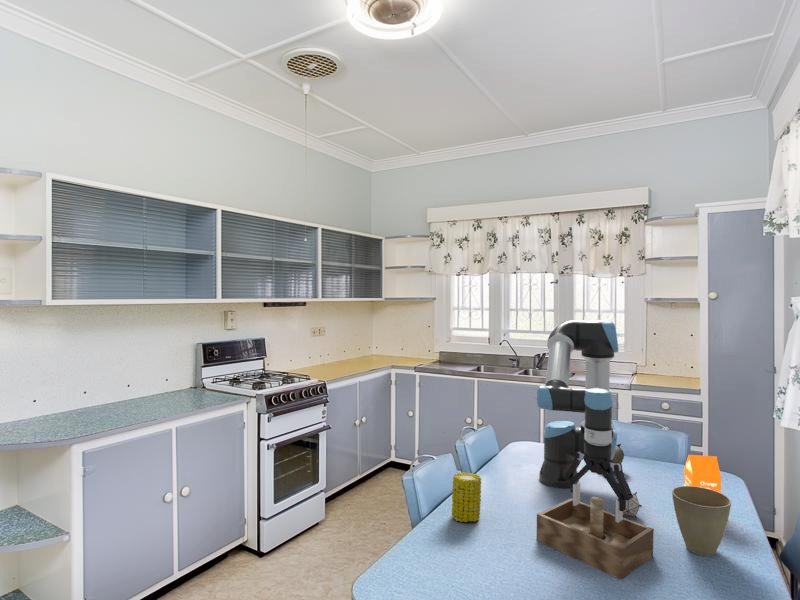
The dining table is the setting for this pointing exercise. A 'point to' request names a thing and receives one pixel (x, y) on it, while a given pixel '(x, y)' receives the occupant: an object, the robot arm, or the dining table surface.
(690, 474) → the orange juice
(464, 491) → the food
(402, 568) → the dining table surface
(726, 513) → the plant pot
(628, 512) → the game die
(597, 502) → the peg
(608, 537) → the box
